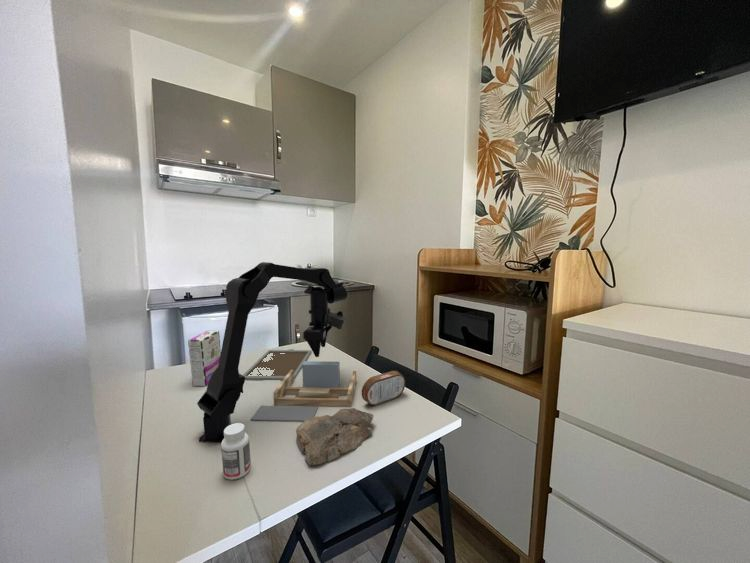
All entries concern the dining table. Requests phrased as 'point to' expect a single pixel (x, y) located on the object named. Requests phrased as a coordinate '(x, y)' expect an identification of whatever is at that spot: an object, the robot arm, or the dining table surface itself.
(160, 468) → the dining table surface
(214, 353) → the candy bar box
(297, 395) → the offcut lower
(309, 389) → the offcut upper
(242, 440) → the pill bottle
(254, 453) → the dining table surface
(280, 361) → the grey picture frame
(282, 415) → the mat
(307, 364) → the light blue block
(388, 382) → the tin
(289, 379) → the rack
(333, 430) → the brown rock
